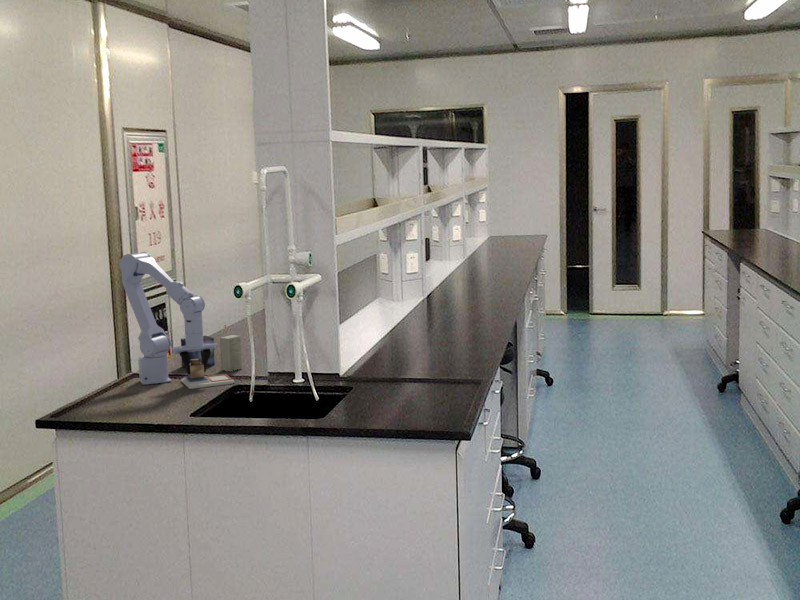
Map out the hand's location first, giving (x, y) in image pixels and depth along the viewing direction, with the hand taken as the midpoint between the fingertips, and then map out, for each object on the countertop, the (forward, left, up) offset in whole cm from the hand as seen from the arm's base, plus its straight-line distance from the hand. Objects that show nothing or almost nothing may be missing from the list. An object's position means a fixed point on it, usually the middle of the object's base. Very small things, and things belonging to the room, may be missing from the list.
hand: (196, 372), depth 285 cm
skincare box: (+16, +16, -4) cm, 23 cm away
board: (+4, 0, -4) cm, 5 cm away
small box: (+7, +29, -4) cm, 30 cm away
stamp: (0, 0, -2) cm, 2 cm away
